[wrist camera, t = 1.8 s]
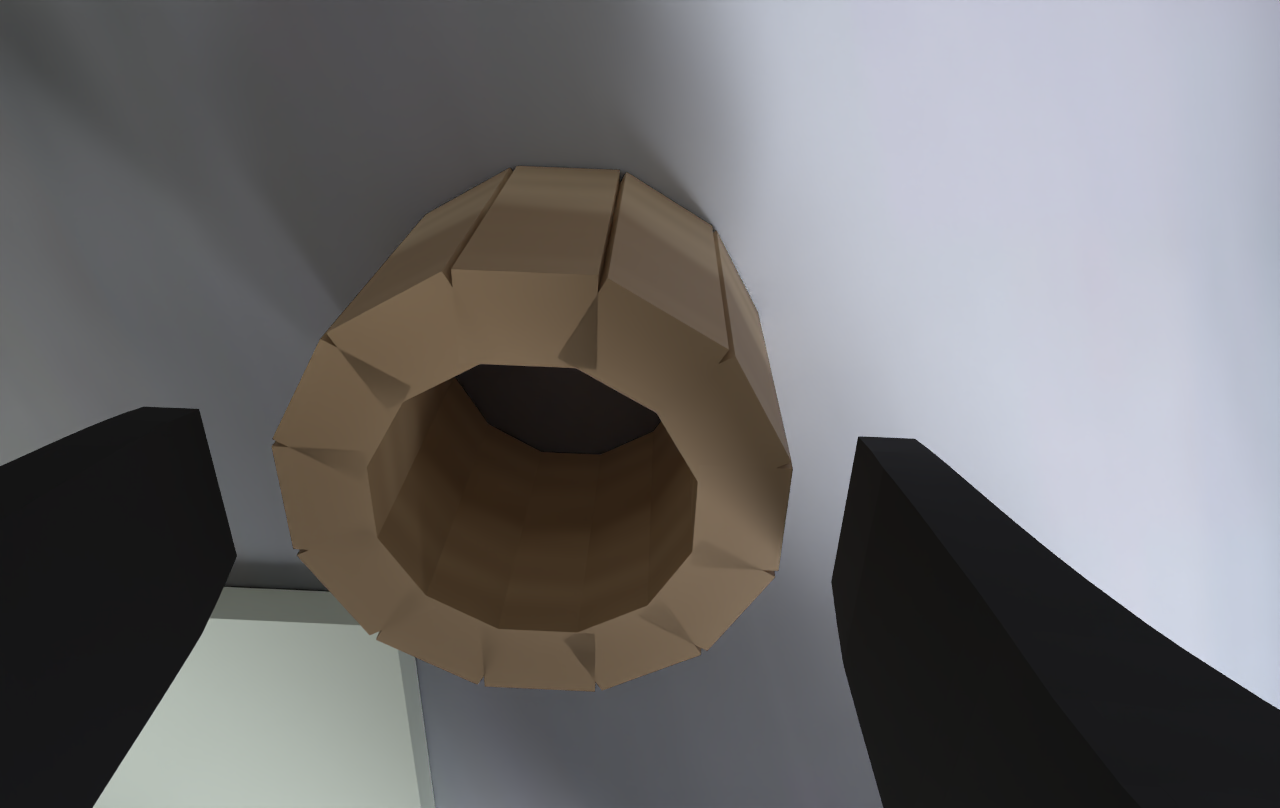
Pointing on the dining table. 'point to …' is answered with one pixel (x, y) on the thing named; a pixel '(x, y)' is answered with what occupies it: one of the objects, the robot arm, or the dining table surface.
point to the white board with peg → (282, 715)
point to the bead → (523, 476)
